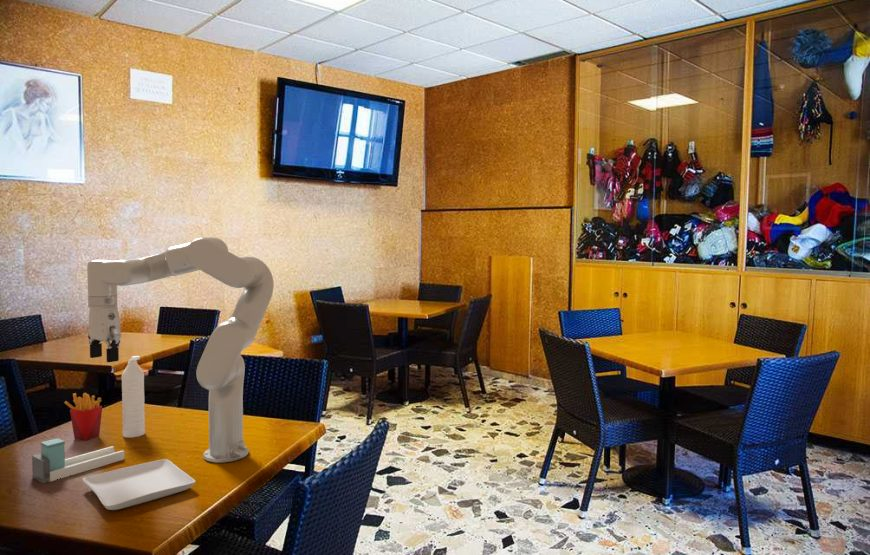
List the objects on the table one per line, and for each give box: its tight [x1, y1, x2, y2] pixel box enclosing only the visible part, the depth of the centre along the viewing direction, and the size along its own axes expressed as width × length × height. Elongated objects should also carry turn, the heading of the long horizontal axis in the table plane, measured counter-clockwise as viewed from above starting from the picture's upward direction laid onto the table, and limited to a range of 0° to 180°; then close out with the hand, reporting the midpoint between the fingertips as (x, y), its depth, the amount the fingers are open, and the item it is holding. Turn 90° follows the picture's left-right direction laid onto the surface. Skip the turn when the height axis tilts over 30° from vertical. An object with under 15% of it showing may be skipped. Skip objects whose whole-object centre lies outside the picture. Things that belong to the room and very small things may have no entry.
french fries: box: [63, 392, 103, 442], centre depth 186 cm, size 9×8×15 cm
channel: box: [31, 445, 125, 485], centre depth 163 cm, size 7×21×6 cm, turn 146°
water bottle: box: [121, 355, 146, 439], centre depth 191 cm, size 9×6×25 cm
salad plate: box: [82, 458, 196, 511], centre depth 150 cm, size 21×21×3 cm
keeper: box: [40, 437, 66, 471], centre depth 157 cm, size 4×4×8 cm
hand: (104, 359), depth 173 cm, fingers open, 9 cm apart
